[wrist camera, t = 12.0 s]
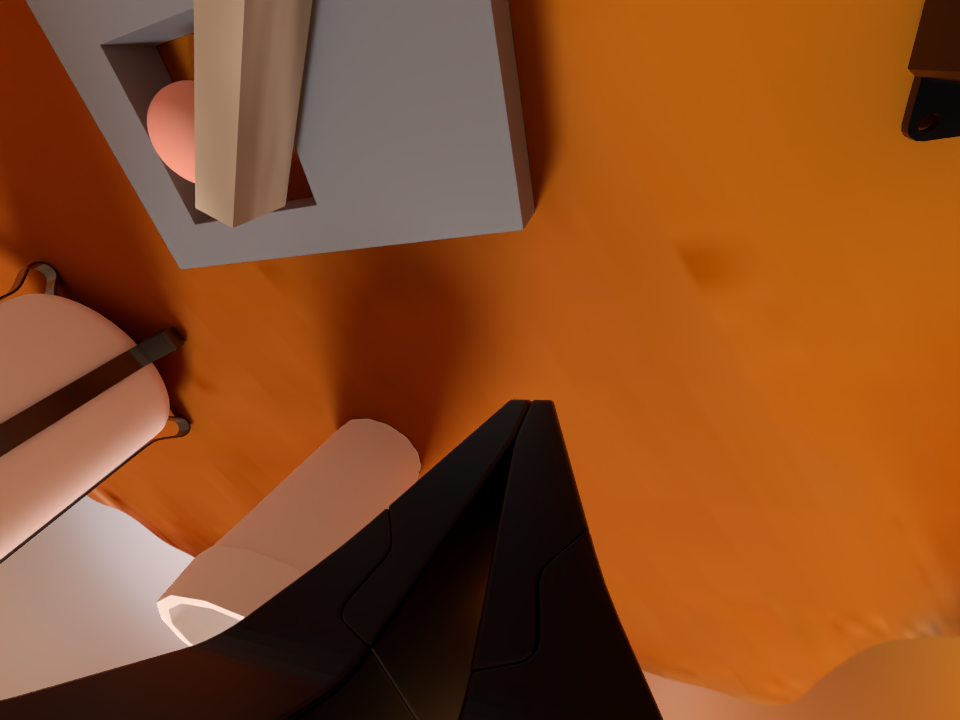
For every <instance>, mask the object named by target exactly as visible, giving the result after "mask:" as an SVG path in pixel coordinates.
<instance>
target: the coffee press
mask: <svg viewBox="0 0 960 720" xmlns="http://www.w3.org/2000/svg"><path fill="white" fill-rule="evenodd" d="M29 269H35V270H38V271H40V272H42V273H43V274H44V275H45V276H46V278H47V284H46V289H45V294H26V295H22V296H18V297H15V298H12V299H9V300H7V301H4V302H1V303H0V563H2V562H3V561H5V560H6V559H7V558H8V557H10V556H11V555H12V554H13V553H14V552H16V551H17V550H18V549H19V548H21V547H22V546H23V545H25V544H26V543H27V542H28V541H30V540H31V539H32V538H33V537H34V536H36V535H37V534H38V533H40V532H41V531H42V530H43V529H44V528H46V527H47V526H48V525H50V524H51V523H52V522H53V521H54V520H56V519H57V518H58V517H59V516H61V515H62V514H63V513H65V512H66V511H67V510H68V509H70V508H71V507H72V506H73V505H75V504H76V503H77V502H78V501H80V500H81V499H82V498H83V497H85V496H86V495H87V494H88V493H90V492H91V491H92V490H93V489H95V488H96V487H97V486H98V485H100V484H101V483H102V482H103V481H105V480H106V479H107V478H108V477H110V476H111V475H112V474H113V473H114V472H116V471H117V470H118V469H119V468H121V467H122V466H123V465H124V464H126V463H127V462H128V461H130V460H131V459H132V458H133V457H135V456H136V455H137V454H138V453H140V452H141V451H142V450H143V449H145V448H146V447H147V446H149V445H150V444H152V443H153V442H155V441H158V440H164V439H172V438H178V437H183V436H185V435H187V434H188V433H189V431H190V428H191V426H190V422H189V421H188V420H187V419H186V418H183V417H173V416H169V410H170V404H169V397H168V393H167V390H166V387H165V384H164V382H163V380H162V378H161V376H160V374H159V372H158V371H157V369H156V368H155V366H154V365H153V363H152V362H153V361H155V360H157V359H159V358H161V357H163V356H165V355H167V354H169V353H170V352H172V351H174V350H176V349H178V348H179V347H181V346H182V345H184V344H185V343H184V342H183V340H182V339H181V338H180V337H179V335H178V334H177V333H176V332H175V330H174V329H173V328H172V327H168V328H166V329H163V330H161V331H159V332H157V333H155V334H153V335H151V336H149V337H147V338H145V339H142V340H140V341H137V342H134V341H133V340H132V339H131V338H130V337H129V336H128V335H127V334H126V333H125V332H123V331H122V330H121V329H120V328H119V327H117V326H116V325H115V324H114V323H112V322H111V321H109V320H108V319H107V318H105V317H104V316H102V315H100V314H99V313H97V312H96V311H94V310H92V309H90V308H88V307H86V306H84V305H82V304H80V303H78V302H75V301H73V300H70V299H67V298H63V297H60V296H57V294H56V289H57V283H58V272H57V270H56V269H55V268H54V267H53V266H51V265H50V264H48V263H45V262H33V263H31V264H29V265H28V266H26V267H24V268H23V269H21V270H20V271H19V273H18V275H17V277H16V279H15V282H14V284H13V286H12V288H11V289H10V291H9V292H8V293H7V294H6V295H3V296H1V297H0V300H2V299H4V298H6V297H8V296H10V295H11V294H13V293H15V292H16V291H18V290H19V288H20V287H21V286H22V284H23V283H24V281H25V279H26V276H27V274H28V272H29ZM167 420H170V421H175V422H176V423H177V424H178V425H179V432H178V433H177V434H176V435H175V436H170V437H163V438H158V439H152V438H153V437H155V436H156V435H157V434H158V433H159V432H160V431H161V430H162V429H163V427H164V426H165V424H166V422H167ZM151 439H152V440H151Z"/></svg>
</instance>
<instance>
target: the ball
mask: <svg viewBox="0 0 960 720" xmlns="http://www.w3.org/2000/svg"><path fill="white" fill-rule="evenodd" d="M147 128H148V133H149V137H150V140H151V142H152V145H153V147H154V148H155V150H156V152H157V154H158V155H159V156H160V158H161V159H162V160H163V161H164V163H165V164H166V165H167V166H168V167H169V168H170V169H172V170H173V171H174V172H175V173H177V174H178V175H179V176H181V177H183V178H184V179H186V180H188V181H190V182H193V183H195V108H194V80H183V81H177V82H174V83H171V84H169V85H167V86H166V87H164V88H162V89H161V90H160V91H159V92H158V93H157V94H156V95H155V96H154V98H153V100H152V101H151V103H150V106H149V109H148V113H147Z"/></svg>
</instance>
